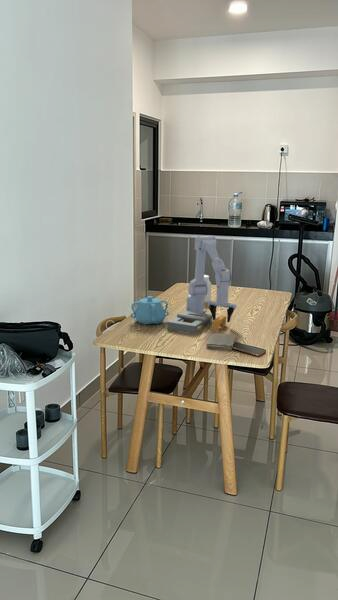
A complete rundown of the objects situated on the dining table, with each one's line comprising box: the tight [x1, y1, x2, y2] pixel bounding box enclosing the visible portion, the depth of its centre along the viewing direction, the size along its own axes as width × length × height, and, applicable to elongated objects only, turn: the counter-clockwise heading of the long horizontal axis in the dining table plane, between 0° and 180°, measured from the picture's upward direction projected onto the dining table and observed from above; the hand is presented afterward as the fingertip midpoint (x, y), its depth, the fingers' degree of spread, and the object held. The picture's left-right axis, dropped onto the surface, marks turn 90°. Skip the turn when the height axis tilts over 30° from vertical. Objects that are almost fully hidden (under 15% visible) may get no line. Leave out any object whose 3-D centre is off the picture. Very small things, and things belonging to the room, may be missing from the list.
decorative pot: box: [130, 295, 170, 326], centre depth 244 cm, size 20×20×14 cm
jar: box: [204, 274, 212, 303], centre depth 289 cm, size 12×10×15 cm
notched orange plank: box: [211, 314, 227, 332], centre depth 237 cm, size 12×3×5 cm, turn 154°
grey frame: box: [166, 310, 213, 335], centre depth 240 cm, size 15×22×6 cm
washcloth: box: [206, 332, 236, 352], centre depth 215 cm, size 12×18×3 cm, turn 169°
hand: (221, 320), depth 240 cm, fingers open, 7 cm apart
